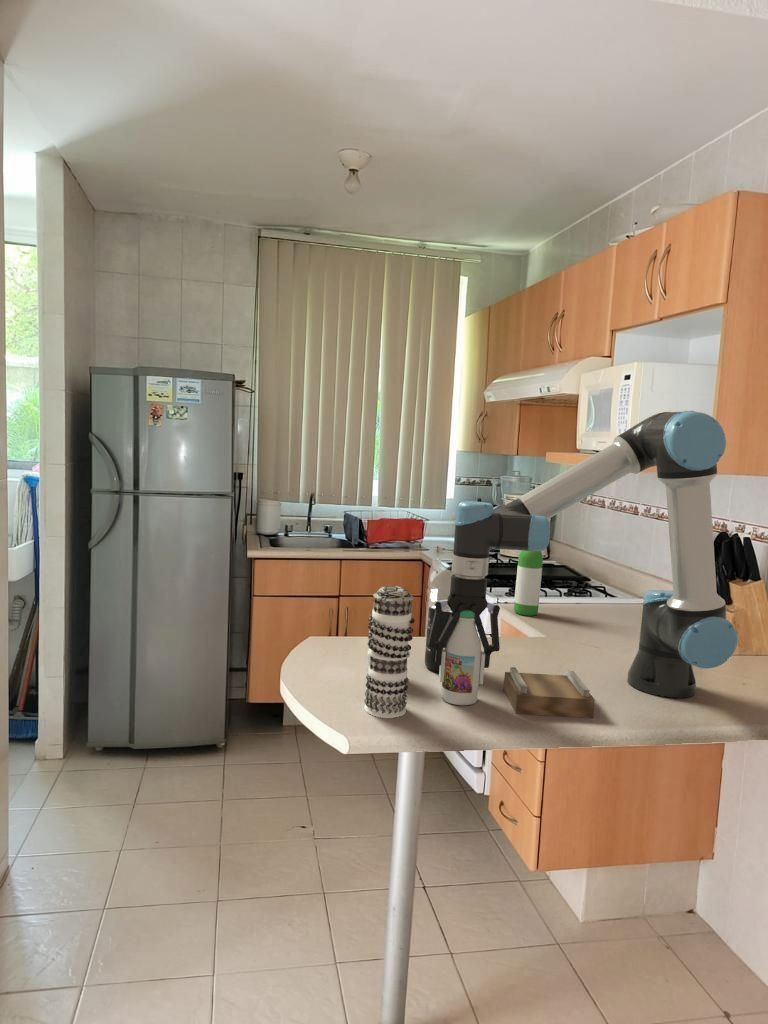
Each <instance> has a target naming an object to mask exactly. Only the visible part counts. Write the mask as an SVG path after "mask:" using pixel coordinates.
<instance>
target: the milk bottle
mask: <svg viewBox="0 0 768 1024" xmlns="http://www.w3.org/2000/svg"><path fill="white" fill-rule="evenodd" d="M461 617H462V618H461ZM474 617H475V613H473V612H472V610H467V609H464V611H462V612H461V613H460V618H459V620H458V622H457V623H456V625H455V626H454V628H453V630H452V632H451V634H450V636H449V638H448V640H447V642H446V647H445V651H446V658H445V671H444V682H441V694H440V696H441V699H442V700H443V701H444V702H446V703H448V704H452V705H454V706H455V705H456V706H471V705H473V704H476V703H477V701H478V696H479V687H480V686H479V685H480V684H479V675H480V662H481V650H482V642H481V639H480V636H479V633H478V630H477V627H476V624H475V619H474Z"/></svg>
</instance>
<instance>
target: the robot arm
mask: <svg viewBox="0 0 768 1024" xmlns="http://www.w3.org/2000/svg"><path fill="white" fill-rule="evenodd" d="M612 441H613V442H612V444H610V445H609V446H607V447H605V448H603V449H602V450H599V451H598V452H596V453H594V454H592V455H591V456H588V457H587V458H585V459H583V460H582V461H581V462H579V463H577V464H575V465H574V466H571V467H570V468H568V469H566V470H564V471H563V472H561V473H559V474H557V475H556V476H554V477H552V478H550V479H549V480H547V481H546V482H543V483H542V484H540V485H538V486H536V487H535V488H533V489H531V490H530V491H528V492H526V493H524V494H522V495H521V496H519V497H518V498H516V499H513V500H512V501H510V502H508V503H507V504H501V505H495V506H494V505H493V504H492V503H490V502H486V501H485V502H484V501H475V500H473V501H472V500H465V501H461V502H460V503H459V504H458V505H457V509H456V510H457V511H456V516H455V520H454V521H455V522H454V528H455V529H454V539H453V553H452V563H451V566H452V572H453V573H454V574H453V575H452V576H451V586H450V595H449V597H448V598H447V600H441V601H439V600H438V599H437V600H435V601H434V604H435V613H434V618H433V622H432V626H431V630H430V635H429V639H428V644H429V647H431V648H434V649H436V656H435V662H436V665H440V669H439V672H438V679H439V682H441V683H442V682H444V671H445V658H446V651H445V648H444V646H445V644H446V642H447V640H448V638H449V636H450V634H451V632H452V630H453V628H454V626H455V625H456V623H457V622H458V620H459V618H460V613H461V612H462V611H464V609H467V610H472V612H473V613H475V617H474V619H475V625H476V630H477V633H478V636H479V639H480V643H481V646H482V647H483V648H482V649H483V650H482V649H481V662H480V675H479V685H483V684H484V675H485V673H484V672H485V669H489V667H490V663H491V662H490V661H491V655H492V653H494V652H499V651H500V649H501V648H500V647H501V646H500V636H499V635H500V634H499V633H500V632H499V619H498V617H499V613H500V610H501V608H500V606H499V604H498V603H497V602H494V603H491V602H488V600H487V588H488V579H487V576H488V575H489V564H490V563H489V561H490V552H491V549H494V550H508V551H510V550H511V551H521V550H522V551H529V552H531V551H541V552H543V551H545V550H546V549H547V548H548V546H549V543H550V538H551V525H550V521H549V519H550V518H552V517H554V516H556V515H558V514H560V513H561V512H563V511H565V510H567V509H568V508H570V507H572V506H574V505H575V504H577V503H579V502H581V501H583V500H584V499H586V498H588V497H590V496H591V495H593V494H594V493H597V492H599V491H601V490H603V488H606V487H607V486H609V485H611V484H612V483H614V482H616V481H618V480H619V479H621V478H623V477H626V476H627V475H628V474H635V475H638V474H640V473H641V472H643V471H645V470H647V469H649V468H653V467H656V474H657V475H656V476H657V480H658V481H660V482H661V483H662V484H664V486H665V495H666V507H667V510H666V511H667V522H668V534H669V535H668V536H669V549H670V563H671V577H672V578H671V579H672V590H667V589H666V590H665V589H651V590H648V591H646V593H645V595H644V599H643V603H642V613H641V624H640V632H639V640H638V641H639V642H638V650H637V653H636V654H635V657H634V659H633V661H632V663H631V665H630V667H629V669H628V673H627V683H628V685H629V686H631V687H633V688H634V689H637V690H638V691H641V692H645V693H647V694H651V695H655V696H658V695H661V696H660V697H664V696H667V697H666V698H673V697H677V699H680V698H679V697H684V698H689V697H692V696H694V695H695V694H696V687H697V682H696V677H695V671H694V668H693V666H694V667H697V668H700V669H713V668H714V669H715V668H716V667H719V666H722V665H723V664H724V663H726V662H727V661H728V660H729V659H730V657H732V656H733V655H734V653H735V652H736V650H737V646H738V643H739V642H738V639H739V638H738V636H739V635H738V632H737V630H736V628H735V626H734V625H733V624H732V622H731V621H730V620H728V619H727V609H726V600H725V599H724V598H722V597H721V596H720V595H719V594H718V593H717V589H718V588H717V576H716V561H715V559H716V558H715V545H714V543H715V542H714V529H713V527H714V526H713V513H712V512H713V510H712V499H711V498H712V497H711V483H712V480H714V479H715V478H716V476H717V475H718V462H719V461H720V459H721V458H722V457H723V456H724V454H725V451H726V445H727V437H726V434H725V431H724V429H723V426H722V425H721V424H720V423H719V422H718V420H717V419H715V417H713V416H711V415H709V414H707V413H705V412H700V411H695V410H683V411H663V412H658V413H656V414H653V415H651V416H649V417H647V418H645V419H644V420H642V421H640V422H639V423H636V424H635V425H633V426H632V427H630V428H629V429H627V430H625V431H624V432H621V433H620V434H618V435H617V436H615V437H614V438H613V440H612ZM447 605H448V606H449V607H450V609H451V611H452V613H451V615H450V618H449V620H448V622H447V624H446V626H445V628H444V630H443V632H442V634H441V636H440V638H439V640H438V642H436V637H437V633H438V629H439V624H440V620H441V616H442V611H444V610H445V607H446V606H447ZM486 609H487V612H488V613H489V616H490V617H489V618H490V633H491V644H489V641H488V638H487V634H486V630H485V628H484V626H483V625H484V624H483V622H482V618H481V614H483V612H484V611H485V610H486ZM461 618H462V617H461Z"/></svg>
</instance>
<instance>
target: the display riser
mask: <svg viewBox="0 0 768 1024" xmlns="http://www.w3.org/2000/svg"><path fill="white" fill-rule="evenodd" d="M590 690H591V689H589V688H588V686H587V685H586V684H585V683H584V681H583V680H582V679H581V677H579V675H578V674H577V673H576V672H575V671H574V670H568V671H567V674H566V675H563V674H545V673H532V672H530V673H527V672H519V671H518V669H517V667H515V666H514V667H513V666H510V668H509V671H504V678H503V691H504V693H505V694H506V695H505V696H506V697H507V699H508V701H509V703H510V705H511V707H512V709H513V711H514V713H515V714H517V715H518V714H519V715H534V716H535V715H537V716H553V717H571V718H587V719H593V718H594V712H595V711H594V709H595V701H596V699H595V698H594V697H593V695H591V694H592V693H590V692H591V691H590Z"/></svg>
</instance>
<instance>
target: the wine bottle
mask: <svg viewBox="0 0 768 1024" xmlns="http://www.w3.org/2000/svg"><path fill="white" fill-rule="evenodd" d="M519 551H520V552H519V554H518V559H517V560H518V561H517V571H516V580H515V590H514V601H513V602H514V603H513V611H514V613H516V614H518V615H521V616H527V617H528V616H529V617H531V616H533V617H534V616H536V615H537V614H538V612H539V607H540V606H539V605H540V595H541V584H542V583H541V582H542V574H543V564H544V555H543V553H542V552H543V551H531V552H529V551H522V550H519Z"/></svg>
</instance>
